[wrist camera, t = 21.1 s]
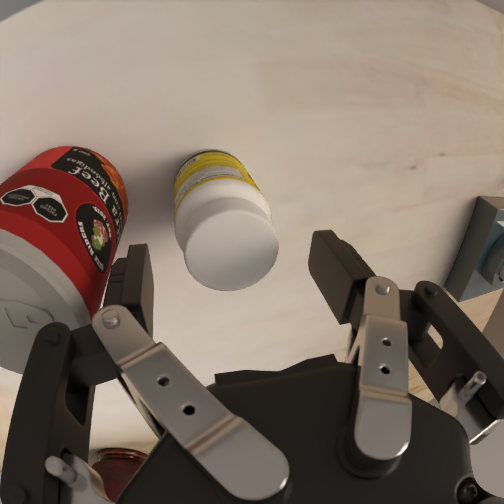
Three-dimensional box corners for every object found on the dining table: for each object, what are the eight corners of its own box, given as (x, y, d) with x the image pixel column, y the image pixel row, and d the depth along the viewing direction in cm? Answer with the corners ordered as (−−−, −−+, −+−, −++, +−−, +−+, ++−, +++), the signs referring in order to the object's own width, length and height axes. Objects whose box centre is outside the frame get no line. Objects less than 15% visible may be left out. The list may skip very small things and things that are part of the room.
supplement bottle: (245, 213, 22) (281, 293, 15) (176, 218, 21) (180, 304, 14) (248, 145, 19) (293, 199, 12) (171, 149, 18) (169, 206, 11)
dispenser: (478, 195, 26) (511, 219, 22) (518, 198, 28) (545, 218, 24) (443, 287, 33) (467, 314, 29) (487, 276, 35) (508, 298, 31)
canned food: (146, 232, 20) (123, 370, 11) (52, 260, 20) (-2, 382, 11) (108, 123, 16) (17, 200, 7) (8, 168, 15) (-93, 264, 6)
